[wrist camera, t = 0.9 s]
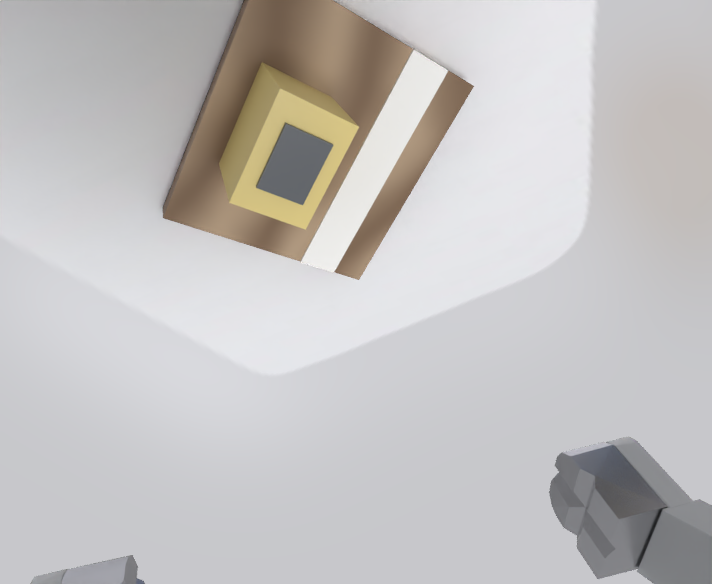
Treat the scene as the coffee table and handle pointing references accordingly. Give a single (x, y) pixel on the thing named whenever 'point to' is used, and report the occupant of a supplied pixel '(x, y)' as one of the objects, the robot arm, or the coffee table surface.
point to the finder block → (285, 148)
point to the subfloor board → (354, 95)
